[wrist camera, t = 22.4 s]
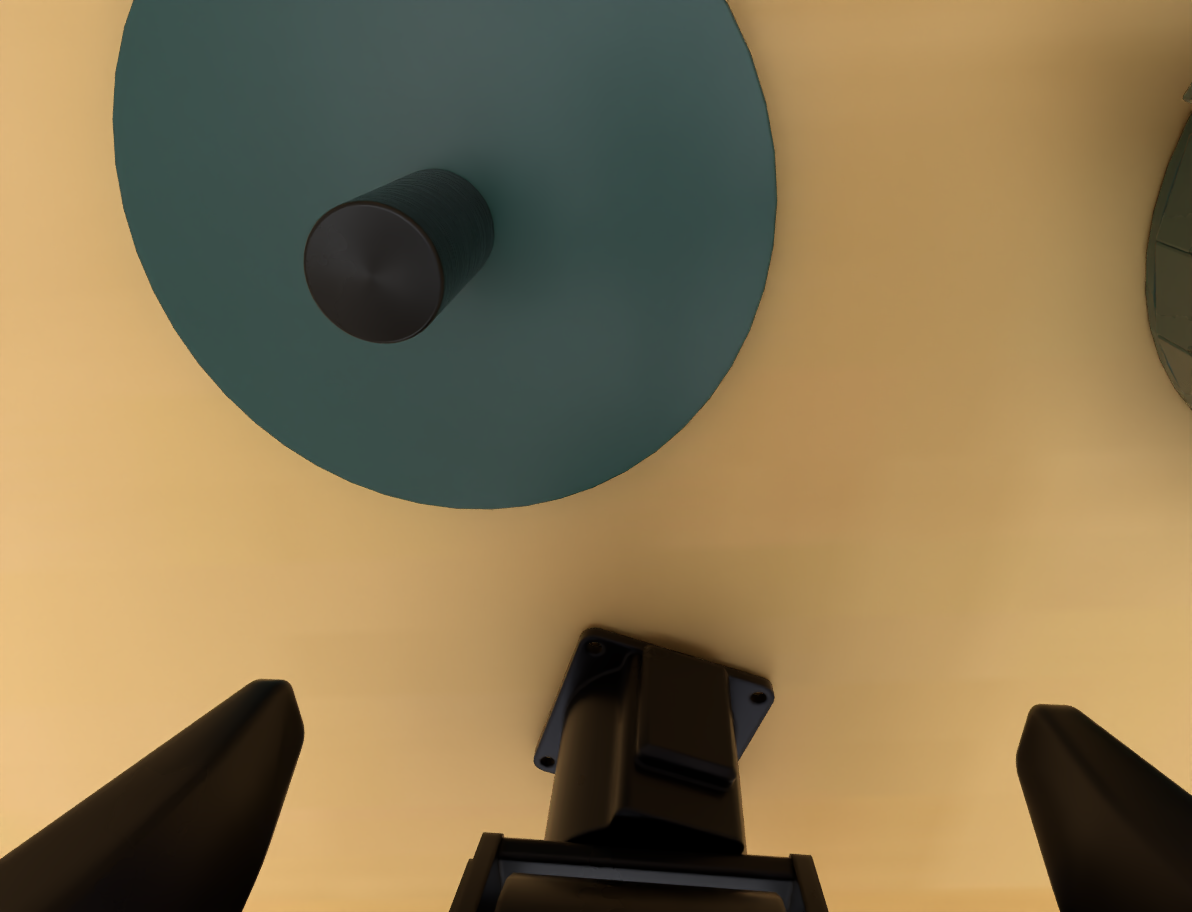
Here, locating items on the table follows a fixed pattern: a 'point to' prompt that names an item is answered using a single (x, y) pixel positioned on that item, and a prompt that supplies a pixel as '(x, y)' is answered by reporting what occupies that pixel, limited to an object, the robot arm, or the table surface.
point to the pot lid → (451, 226)
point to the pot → (1173, 266)
